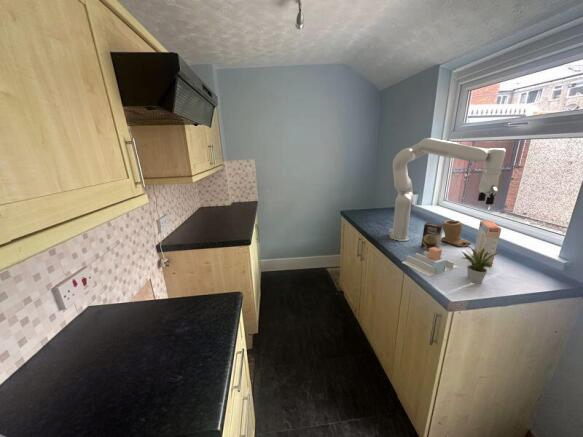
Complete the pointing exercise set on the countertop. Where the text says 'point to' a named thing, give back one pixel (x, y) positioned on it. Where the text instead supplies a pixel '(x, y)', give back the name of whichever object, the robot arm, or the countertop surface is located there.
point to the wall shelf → (428, 264)
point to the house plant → (478, 265)
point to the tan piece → (454, 233)
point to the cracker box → (487, 239)
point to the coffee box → (431, 235)
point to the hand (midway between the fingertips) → (485, 202)
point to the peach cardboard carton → (434, 253)
